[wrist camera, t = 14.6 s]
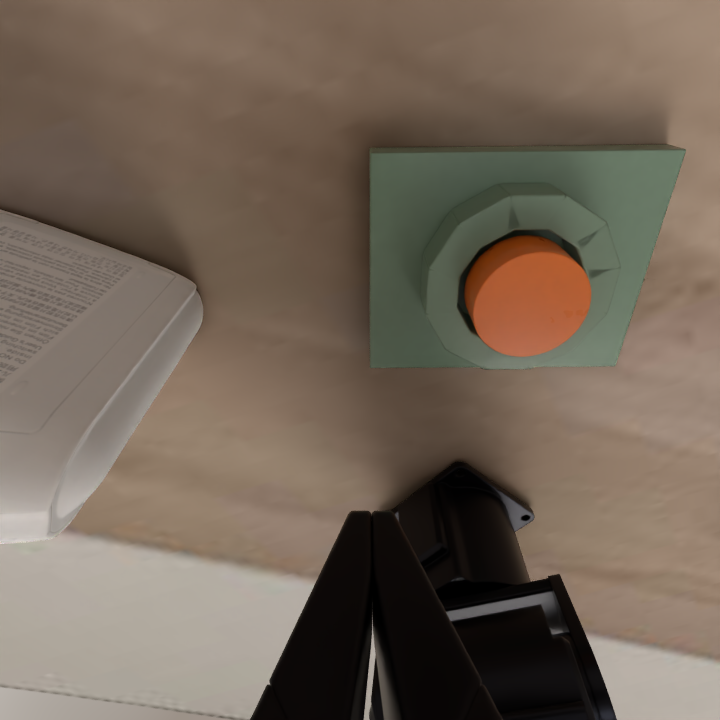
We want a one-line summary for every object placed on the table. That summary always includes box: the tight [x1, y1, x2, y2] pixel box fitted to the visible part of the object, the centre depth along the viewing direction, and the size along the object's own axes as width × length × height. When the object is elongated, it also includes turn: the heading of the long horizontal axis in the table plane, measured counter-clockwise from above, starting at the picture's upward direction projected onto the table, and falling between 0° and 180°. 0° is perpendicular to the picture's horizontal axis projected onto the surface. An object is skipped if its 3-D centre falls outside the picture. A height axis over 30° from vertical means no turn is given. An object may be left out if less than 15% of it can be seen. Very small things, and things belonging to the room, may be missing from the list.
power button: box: [464, 235, 591, 357], centre depth 17 cm, size 4×4×2 cm
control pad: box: [370, 144, 686, 370], centre depth 19 cm, size 11×9×3 cm
